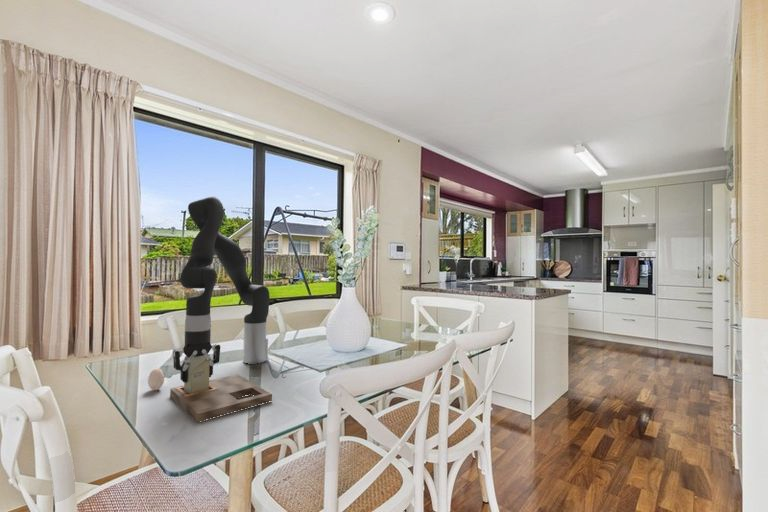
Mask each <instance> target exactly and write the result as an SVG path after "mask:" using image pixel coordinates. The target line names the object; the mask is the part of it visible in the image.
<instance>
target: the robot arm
mask: <svg viewBox="0 0 768 512" xmlns="http://www.w3.org/2000/svg"><path fill="white" fill-rule="evenodd" d="M224 208H225V207H224V205H223V203H222V201H221V200H220V199H219V198H218V197H216V196H209V197H208V196H207V197H205V198H200V199H197V200H195V201H192V202H190V203H188V206H187V211H188V214H189V216H190V218H191V219H192V220H191V221H193V223H194V224H195V225H196V227H197V228H198V230H199V232H198V233H197V234H196V235H195V237H194V239H193V241H192V244H191V248H190V249H191V250H190V255H189V258H188V260H187V262H186V263H185V266H184V267H183V269H182V271H181V272H180V277H179V281H180V284H181V286H182V287H183V288H185V289H193V290H194V289H203V292H202V293H201V294H195V295H190V296H189V297H187V298H186V303H185V306H186V307H185V309H186V311H185V321H184V346H183V348H182V349H179V350H177V349H174V350H173V352H172V355H173V356H172V357H173V360H172V361H173V368H174V369H175V370H176V371H180V374H179V375H180V377H179V378H180V381H181V382H183V384H184V383H185V382H187V370H186V369H187V368H188V366H189V365H190V360H191V358H193V357H196V356H203V355H204V356H205V358H206V359H207V361H209V360H210V367H209V378H212V376H213V374H214V365H215V364H218V363H220V359H221V358H220V357H221V355H220V354H221V345H220V344H218V343H214V344H211V336H212V335H211V334H212V333H211V331H212V320H211V304H212V303H211V301H212V295H213V291H214V289H215V285H216V282H217V280H218V272H217V271H216V269H215V268H214V267H212V266H211V265H212V264H213V262H214V253H215V256H216V257H217V259H218V260H219V262H220V264H221V265H222V267H223V268H224V270H225V271H226V273H227V275H228V277H229V278H230V281H232V284H233V286H234V288H235V289H236V292H237V294H238V297H239V298H240V300H241V302H242V303H243V304H244V305H246V306H250V307H252V308H251V312H250V313H248V314H246V315H244V319H243V349H242V350H243V351H242V353H243V357H242V361H243V363H244V364H246V363H248V364H247V365H256V364H257V363H258V364H262V363H264V362H267V361H268V351H269V339H268V338H267V320H268V319H267V318H268V315H269V311H270V310H269V309H270V300H271V299H270V291H269V288H268V287H267V286H265V285H261V284H254V283H252V281H251V280H250V278H249V276H248V274H247V259H246V256H245V254H244V252H243V250H242V248H241V247H240V245H238V243H237V242H236V241H234V240H232V239H231V238H230V237H228V236H226V235H224V234H222V233H221V232H220V229H221V226H222V223H223V219H224V217H225V209H224ZM210 266H211V267H210ZM211 350H212V352H213V354H212V358H211V355H210V356H209V355H208V354H209V353H210V352H211ZM183 354H184V355H185V356H187V357H188V358H189V359H188V360H186V359H185V357H184V359H182V360H183V361H182V363H181V357H182V355H183ZM207 357H208V358H207ZM266 360H267V361H266Z"/></svg>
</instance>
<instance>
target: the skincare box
mask: <svg viewBox="0 0 768 512" xmlns="http://www.w3.org/2000/svg"><path fill="white" fill-rule="evenodd" d="M208 355H209V356H210V357H211V355H210V354H209V353H208ZM184 358H185V359H186V360H188V359H189V358H188V357H187V356H186V355H185V356H184ZM207 358H208V357H207ZM209 367H210V360H209V361H207V359H206V358H205V356H204V355H203V356H196V357H193V358H191V360H190V365H189V366H188V368H187V369H186V370H187V382H185V383H184V382H183V386H184V392H185V393H186V394H187V395H188V394H193V393H197V392H201V391H206V390H209V380H210V377H209Z"/></svg>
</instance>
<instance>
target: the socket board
mask: <svg viewBox="0 0 768 512" xmlns="http://www.w3.org/2000/svg"><path fill="white" fill-rule="evenodd" d="M169 391H170V394H169V397H170V398H172V399H173V400H174V402H176V404H178V405H179V406H180V408H182V409H183V410H184V412H186V414H188V415H189V416H190V417H191V418H192V419H193V420H194V421H195V422H196V423H197V422H200V421H203V422H205V421H204V420H206V419H210V418H213V417H217V416H220V415H224V414H227V413H231V412H234V411H238V410H241V409H245V408H248V407H251V406H255V405H258V404H262V403H266V402H269V401H272V402H273V393H271V392H270V391H267V390H265V389H264V388H263V387H260V386H259V385H257V384H255V383H254V382H251V380H248V379H247V378H246V377H243V376H241V375H239V374H238V373H237V374H233V375H227V376H224V377H219V378H213V379H209V390H206V391H201V392H197V393H193V394H188V395H187V394H186V393H185V392H184V385H180V386H176V387H171V388H170V389H169ZM249 394H252V395H254V396H252V395H251V396H249V397H244V398H243V397H242V396H245V395H249ZM238 397H242V398H240V399H239V398H238ZM236 398H238V399H236ZM224 416H225V415H224ZM217 418H218V417H217ZM210 420H211V419H210ZM200 423H201V422H200Z"/></svg>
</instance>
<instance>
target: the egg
mask: <svg viewBox="0 0 768 512" xmlns="http://www.w3.org/2000/svg"><path fill="white" fill-rule="evenodd" d="M147 377H148V378H147V385H148V387H149V389H150V390H152V391H158V390H160V389H161V388H162V386H163V385H164V382H165V375H164V373H163V371H162V369H161V368H160V367H156V368H154V369H152V370H151V371H150V373H149V375H148V376H147Z"/></svg>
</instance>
